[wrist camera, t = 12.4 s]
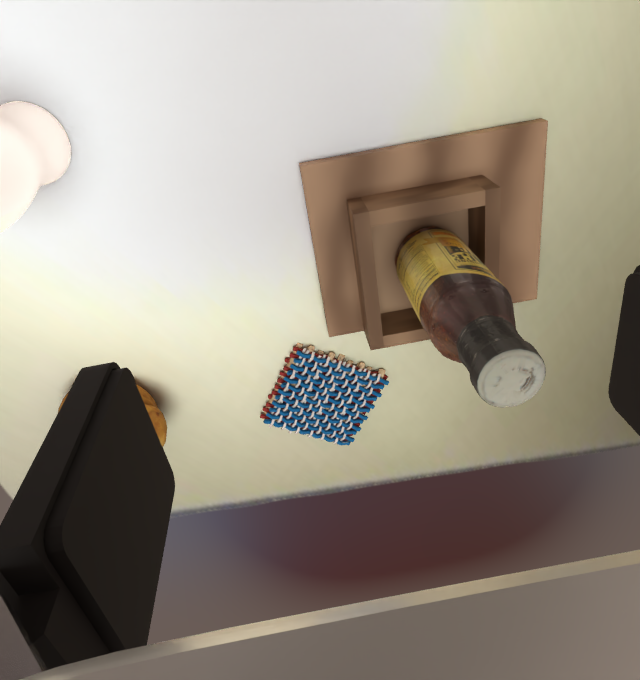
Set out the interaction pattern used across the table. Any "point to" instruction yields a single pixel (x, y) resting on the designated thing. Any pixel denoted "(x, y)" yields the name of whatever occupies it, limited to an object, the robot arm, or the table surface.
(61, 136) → the beer glass
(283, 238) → the table surface
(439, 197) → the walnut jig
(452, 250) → the sauce bottle
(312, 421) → the woven mat
